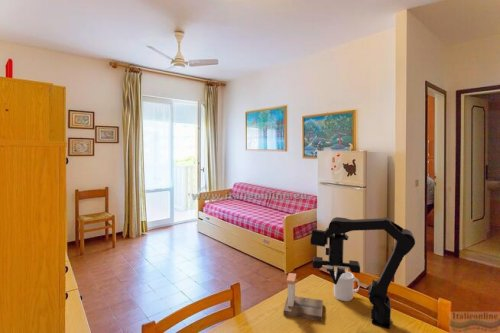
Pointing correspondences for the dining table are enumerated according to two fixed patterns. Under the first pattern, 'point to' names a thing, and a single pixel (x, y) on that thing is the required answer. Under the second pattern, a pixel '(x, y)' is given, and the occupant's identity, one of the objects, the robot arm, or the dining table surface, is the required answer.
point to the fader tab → (291, 288)
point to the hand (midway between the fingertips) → (335, 283)
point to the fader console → (305, 308)
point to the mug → (345, 286)
